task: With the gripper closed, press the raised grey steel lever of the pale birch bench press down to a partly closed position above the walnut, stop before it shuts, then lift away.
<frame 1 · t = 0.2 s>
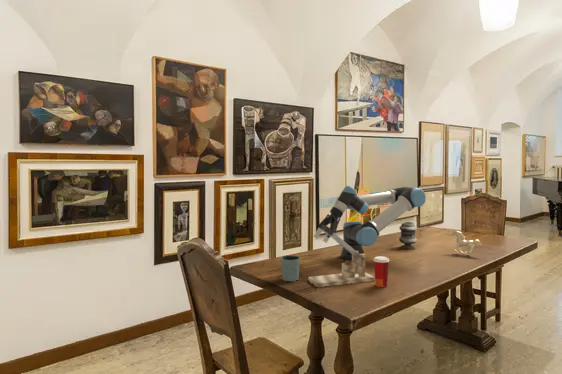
hand: (319, 239, 236), 16 cm above the table, tool tilted 35°, fingers open, 13 cm apart
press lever: (342, 242, 207), point 20 cm above the table, hinge at 40.0°
paper cup: (381, 286, 199), on the table
apothecary jar: (407, 247, 285), on the table
press base: (341, 280, 208), on the table
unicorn: (465, 255, 261), on the table
blue grey planter pot: (290, 280, 211), on the table
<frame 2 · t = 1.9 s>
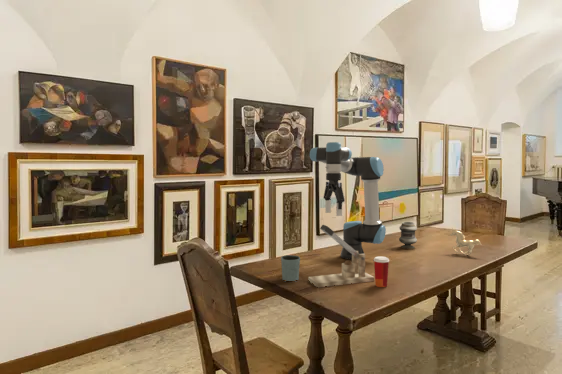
hand: (333, 214, 205), 35 cm above the table, tool pointing down, fingers open, 13 cm apart
nothing on the table moved.
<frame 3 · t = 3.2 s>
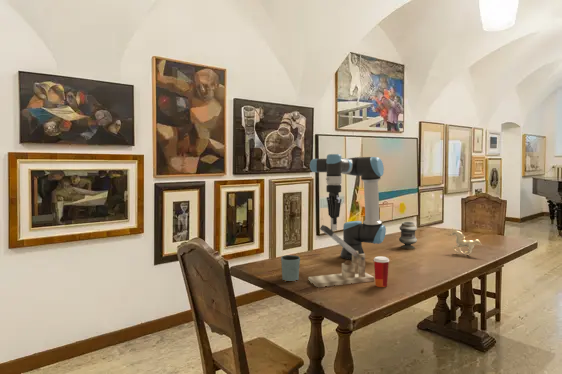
hand: (333, 230, 205), 27 cm above the table, tool pointing down, fingers closed
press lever: (341, 243, 207), point 20 cm above the table, hinge at 39.5°, touching gripper
everything else where it was.
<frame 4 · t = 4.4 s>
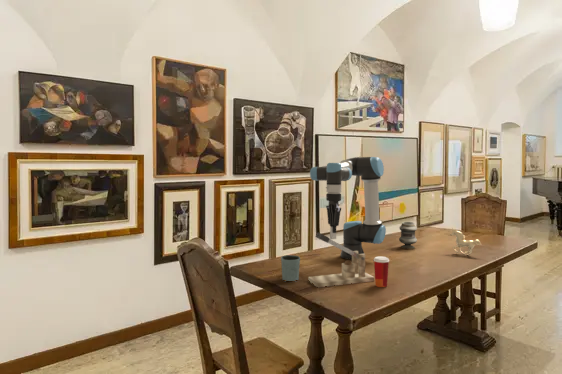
hand: (333, 238, 205), 22 cm above the table, tool pointing down, fingers closed
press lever: (339, 246, 207), point 18 cm above the table, hinge at 29.3°, touching gripper
everything else where it was.
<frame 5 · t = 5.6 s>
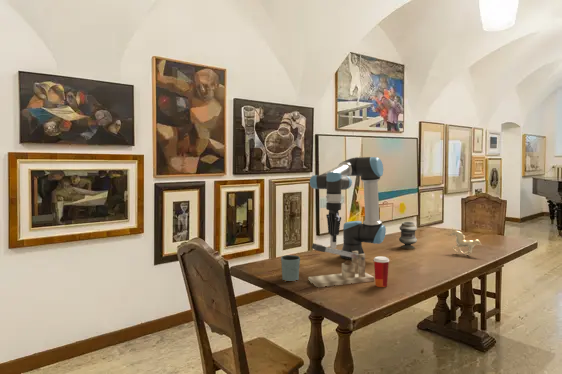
hand: (333, 247, 205), 18 cm above the table, tool pointing down, fingers closed
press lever: (337, 251, 207), point 15 cm above the table, hinge at 16.0°, touching gripper
everything else where it was.
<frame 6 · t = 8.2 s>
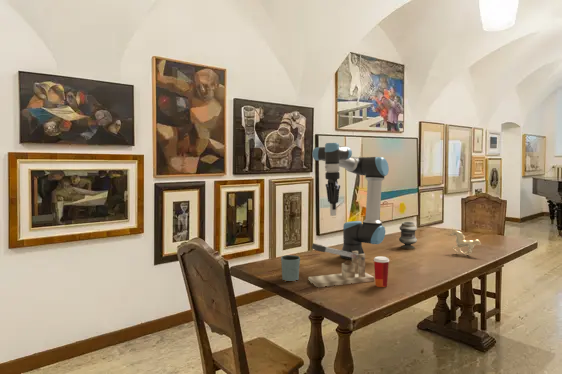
hand: (333, 215, 216), 33 cm above the table, tool pointing down, fingers closed
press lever: (337, 251, 207), point 15 cm above the table, hinge at 15.9°
everything else where it was.
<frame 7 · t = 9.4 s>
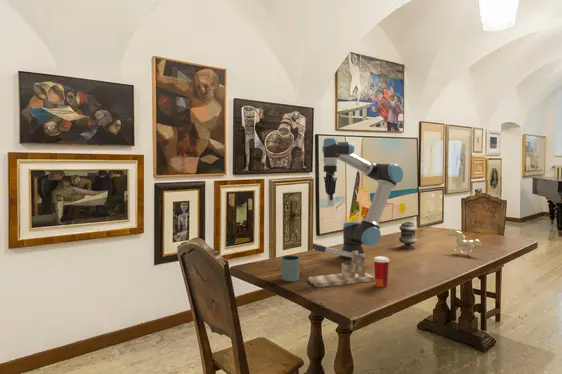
hand: (330, 205, 232), 36 cm above the table, tool pointing down, fingers closed
nothing on the table moved.
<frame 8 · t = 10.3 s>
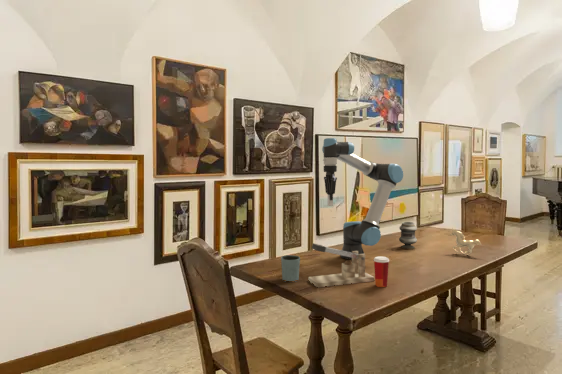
hand: (330, 205, 232), 36 cm above the table, tool pointing down, fingers closed
nothing on the table moved.
at the end: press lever at +16° (first picture: +40°) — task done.
